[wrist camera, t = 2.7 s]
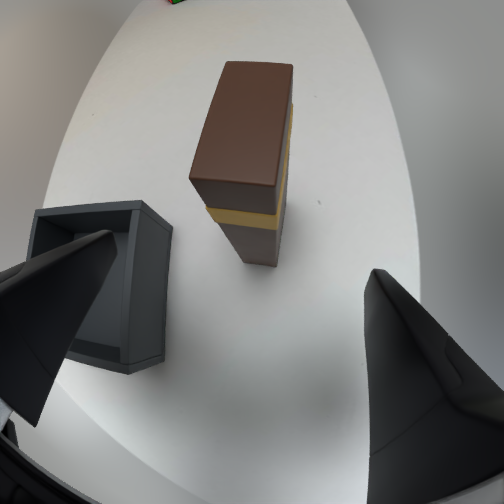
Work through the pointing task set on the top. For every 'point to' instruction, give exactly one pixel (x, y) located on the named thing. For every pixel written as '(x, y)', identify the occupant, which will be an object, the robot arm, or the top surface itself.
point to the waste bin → (116, 281)
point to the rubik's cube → (175, 1)
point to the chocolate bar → (247, 157)
